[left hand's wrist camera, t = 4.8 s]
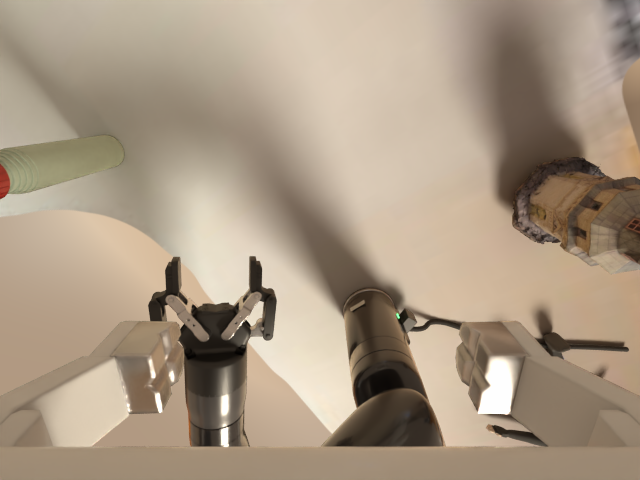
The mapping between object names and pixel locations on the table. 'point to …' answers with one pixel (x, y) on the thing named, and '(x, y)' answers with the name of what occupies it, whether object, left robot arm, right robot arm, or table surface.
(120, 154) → the bottle
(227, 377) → the right robot arm
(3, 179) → the cap
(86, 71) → the table surface
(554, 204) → the miniature building
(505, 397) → the left robot arm
